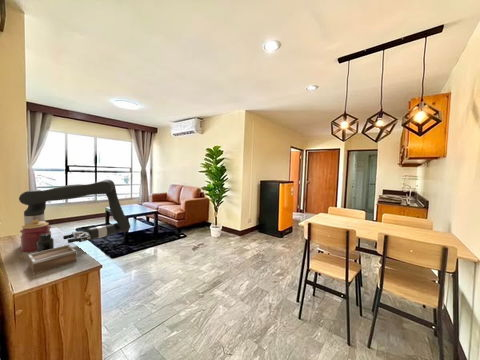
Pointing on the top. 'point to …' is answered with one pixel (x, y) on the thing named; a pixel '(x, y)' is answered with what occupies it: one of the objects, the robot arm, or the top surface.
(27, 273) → the top surface
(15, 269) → the top surface
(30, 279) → the top surface
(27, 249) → the canister
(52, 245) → the supplement bottle
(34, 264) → the open rectangular tray
